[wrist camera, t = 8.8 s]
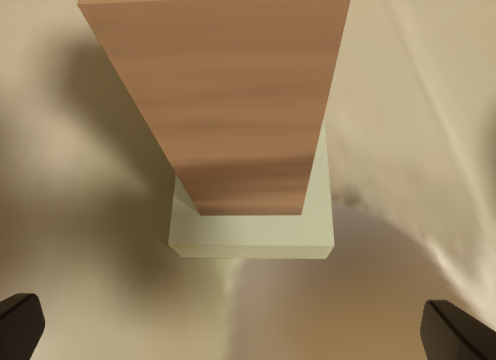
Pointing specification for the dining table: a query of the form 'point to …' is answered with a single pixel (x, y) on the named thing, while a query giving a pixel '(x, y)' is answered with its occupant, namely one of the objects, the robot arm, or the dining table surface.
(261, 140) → the pillar
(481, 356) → the robot arm
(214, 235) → the base slab
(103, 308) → the dining table surface
